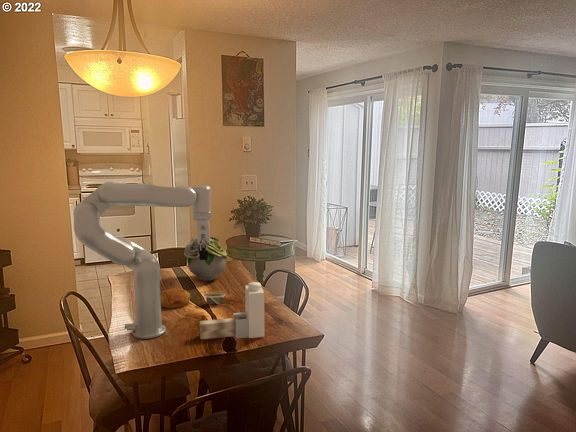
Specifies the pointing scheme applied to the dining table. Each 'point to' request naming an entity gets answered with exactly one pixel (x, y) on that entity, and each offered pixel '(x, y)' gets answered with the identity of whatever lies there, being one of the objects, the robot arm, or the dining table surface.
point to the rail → (218, 328)
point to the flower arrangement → (206, 267)
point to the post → (251, 313)
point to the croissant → (174, 298)
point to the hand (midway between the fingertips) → (203, 256)
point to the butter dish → (214, 298)
